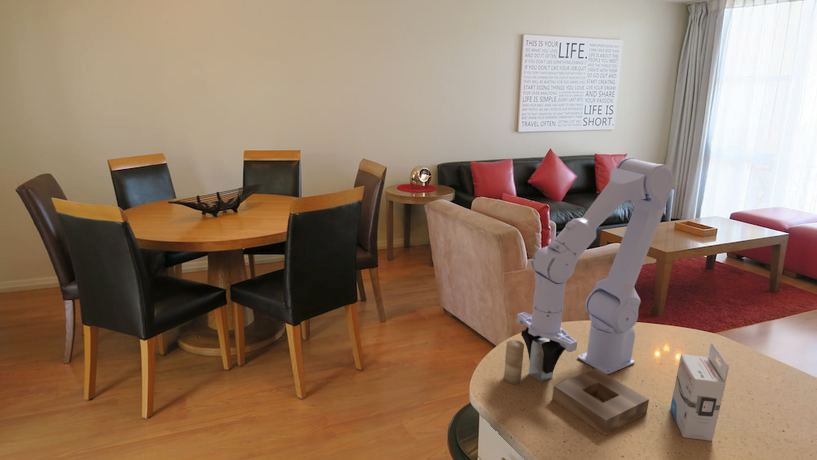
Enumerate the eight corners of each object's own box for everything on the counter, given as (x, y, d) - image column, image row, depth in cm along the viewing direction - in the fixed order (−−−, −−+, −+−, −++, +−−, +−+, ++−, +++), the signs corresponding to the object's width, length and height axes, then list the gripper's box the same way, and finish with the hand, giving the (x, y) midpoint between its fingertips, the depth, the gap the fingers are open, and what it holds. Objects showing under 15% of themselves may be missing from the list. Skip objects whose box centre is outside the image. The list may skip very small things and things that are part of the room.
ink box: (669, 408, 98) (682, 338, 93) (697, 412, 97) (712, 341, 92) (682, 438, 90) (698, 362, 85) (713, 442, 89) (730, 366, 84)
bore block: (593, 381, 106) (595, 368, 105) (646, 413, 96) (649, 399, 95) (552, 399, 100) (553, 385, 99) (604, 435, 90) (606, 420, 89)
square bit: (540, 369, 110) (544, 335, 107) (552, 377, 107) (556, 342, 105) (528, 374, 108) (532, 339, 106) (540, 382, 105) (544, 346, 103)
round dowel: (512, 372, 108) (515, 338, 106) (524, 380, 105) (527, 345, 103) (500, 377, 107) (503, 342, 104) (511, 385, 104) (514, 350, 101)
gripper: (507, 297, 107) (503, 356, 111) (561, 326, 95) (554, 390, 99) (532, 291, 110) (527, 347, 114) (587, 317, 99) (579, 380, 102)
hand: (541, 367), depth 107 cm, fingers closed on square bit, 3 cm apart
